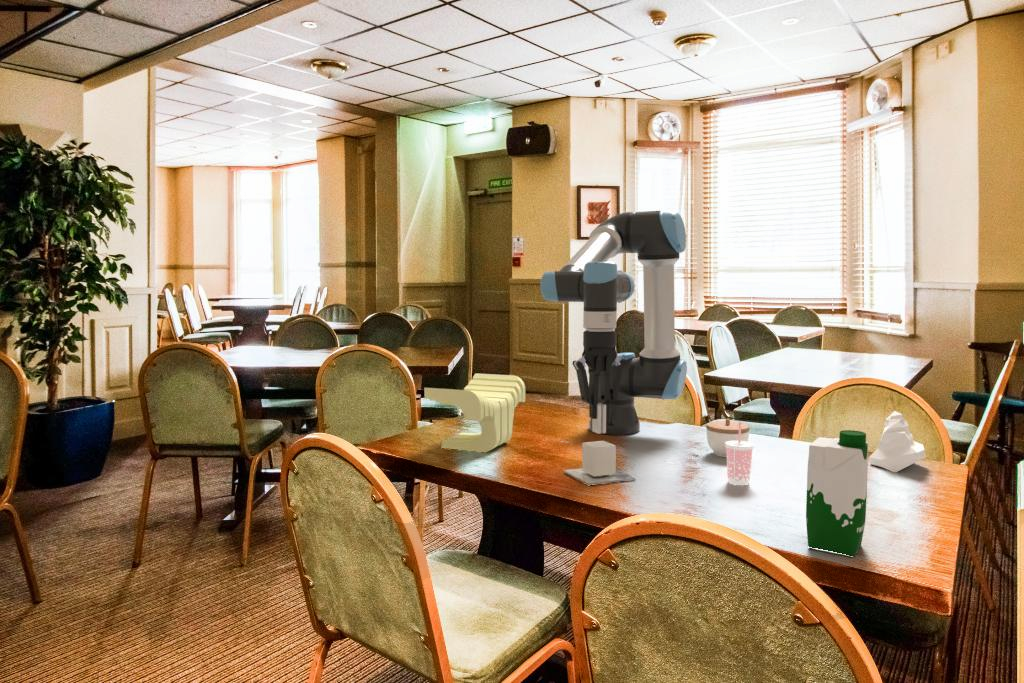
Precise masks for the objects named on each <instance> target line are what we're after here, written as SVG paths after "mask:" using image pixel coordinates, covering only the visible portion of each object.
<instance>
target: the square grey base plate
mask: <svg viewBox="0 0 1024 683" xmlns="http://www.w3.org/2000/svg"><path fill="white" fill-rule="evenodd" d="M565 473H566V474H565ZM563 474H565V475H567V474H568V475H567V476H569V475H570V476H572V477H574V478H576V479H578V480H580V481H582V482H584V483H586V484H588V485H592V484H602V483H610V482H618V481H625V482H629V481H628V480H633V481H636V477H635V476H633V475H630V474H628V473H626V472H625V471H622V470H619V469H617V468H616V474H611V475H603V476H595V477H594V476H592V475H590V474H588V473H586V472H584V471H582V467H581V468H570V469H563ZM570 476H569V477H570ZM572 477H571V478H572ZM574 478H573V479H574ZM576 479H575V480H576ZM578 480H577V481H578ZM580 481H579V482H580ZM582 482H581V483H582ZM618 483H619V482H618ZM610 484H611V483H610ZM602 485H603V484H602Z"/></svg>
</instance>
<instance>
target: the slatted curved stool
mask: <svg viewBox="0 0 1024 683" xmlns="http://www.w3.org/2000/svg"><path fill="white" fill-rule="evenodd" d="M467 383H468V384H467V385H465V387H463V389H453V388H437V387H423V388H424V391H423V392H424V399H427V400H429V401H433V402H435V403H440V405H447V406H448V405H449V406H455V407H458V408H459V409H460V410H461V412H462V413H463V414H462V415H463V418H464V420H466V421H475V422H476V421H477V422H478V423H479V424H480V429H481V433H472V432H471V433H470V432H469V433H467V432H460V433H457V434H456V435H453V436H450V437H449V438H446V439H444V440H442V443H441V445H440V446H441V447H440V449H442V448H451V449H458V450H457V451H461V450H467V451H466V452H471V451H476V452H475V453H481V452H484V453H487V452H489V451H491V450H494V449H495V448H497V447H499V446H501V445H503V444H504V443H506V442H508V441H509V440H510V439H511V438H512V435H513V424H514V417H515V416H514V415H515V409H516V408H517V406H518V404H519V403H526V384H525V382H524V381H523V380H522V378H520V377H519V376H517V375H515V374H514V375H513V374H493V373H479V372H478V373H474V375H473V376H472V379H470V380H469V382H467ZM451 449H450V450H451Z"/></svg>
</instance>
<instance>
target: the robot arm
mask: <svg viewBox="0 0 1024 683" xmlns="http://www.w3.org/2000/svg"><path fill="white" fill-rule="evenodd" d="M686 243H687V234H686V227H685V223H684V220H683V218H682V216H681V214H680V213H679V212H677V211H676V210H663V209H661V210H650V211H649V210H647V211H627V212H622V213H618V214H616V215H614V216H611V217H609V218H607V219H606V220H604V221H602V222H600V224H599V225H597V226H596V227H595V228H594V229H593V230H592V231H591V232H590V234H589V237H588V240H587V241H586V242H585V244H583V246H582V247H581V248H580V249H579V250H578V251H577V252H575V254H574V255H573V256H572V257H571V258H570V259H569V260H568V261H567V262H566V263H565V264H564V265H563V266H562V267H561V268H560V270H552V271H550V270H549V271H546V272H544V273H543V274H542V275H541V278H540V285H539V286H540V294H541V296H542V298H543V299H544V300H545V301H547V302H557V303H581V302H582V303H583V314H582V315H583V320H582V321H583V323H582V324H583V325H582V326H583V328H584V329H585V330H584V331H583V337H582V340H583V341H582V344H583V345H582V346H583V352H582V353H581V357H580V358H579V359H577V360H573V361H572V366H573V368H574V369H575V371H576V376H577V377H576V378H577V382H578V388H579V393H580V398H581V401H582V402H584V403H587V404H588V406H589V410H588V411H589V413H588V414H589V415H588V416H589V418H590V419H589V423H588V425H589V426H588V427H589V428H588V429H589V431H591V432H593V433H595V434H598V435H599V434H600V435H601V434H602V435H613V436H614V435H617V436H618V435H632V434H635V433H639V432H640V430H641V428H640V427H641V426H640V420H639V416H638V414H637V411H636V406H635V398H643V399H644V398H647V399H657V400H659V399H660V400H663V401H664V400H676V399H678V398H679V397H680V396H681V394H682V393H683V390H684V388H685V383H686V379H687V372H688V366H687V361H686V360H684V359H681V352H680V351H679V350H678V349H677V348H676V345H675V344H676V342H675V341H676V340H675V339H676V338H675V336H676V335H675V333H676V332H675V330H676V329H675V264H676V263H677V262H678V261H679V259H680V254H681V253H683V252H685V250H686V248H687V244H686ZM619 254H620V255H621V254H637V261H638V262H639V263H640V264H642V268H643V269H642V270H643V278H642V279H643V328H644V329H643V330H644V331H643V332H644V337H643V338H644V347H643V349H642V350H641V351H640V352H639V357H636V355H635V352H620V353H618V351H617V350H616V349H617V348H616V347H617V335H618V334H617V331H616V330H615V329H617V319H618V318H617V315H618V314H617V310H618V308H617V307H618V303H620V304H621V303H623V302H625V301H627V300H629V299H630V298H631V297H632V296H633V294H634V291H635V286H636V285H635V280H634V279H633V277H632V276H631V275H630V274H629V273H627V272H625V271H623V270H618V265H617V263H616V262H615V261H608V260H609V259H612V258H614V257H616V256H617V255H619ZM586 366H587V367H588V370H587V371H586ZM587 372H588V373H587ZM588 376H589V377H588Z"/></svg>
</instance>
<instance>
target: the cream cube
mask: <svg viewBox="0 0 1024 683" xmlns="http://www.w3.org/2000/svg"><path fill="white" fill-rule="evenodd" d="M581 445H582V447H581V448H582V450H581V451H582V452H581V453H582V454H581V455H582V456H581V458H582V459H581V460H582V461H581V462H582V463H581V464H582V466H581V468H582V471H584V472H586V473H588V474H590V475H592V476H594V477H595V476H603V475H611V474H616V469H617V468H616V464H617V463H616V454H617V453H616V452H617V449H616V448H617V445H616V444H613V443H610V442H608V441H605V440H597V441H587V442H586V441H585V442H582V444H581Z"/></svg>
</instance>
